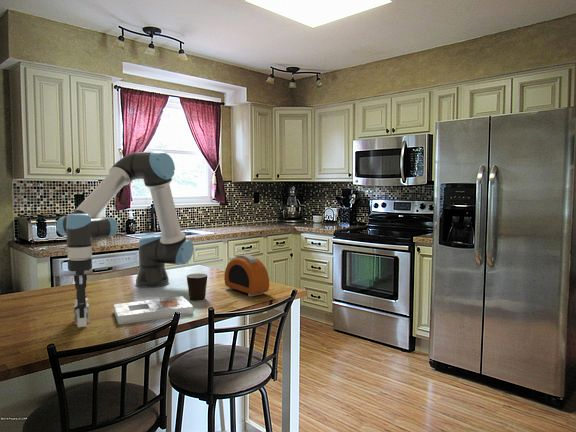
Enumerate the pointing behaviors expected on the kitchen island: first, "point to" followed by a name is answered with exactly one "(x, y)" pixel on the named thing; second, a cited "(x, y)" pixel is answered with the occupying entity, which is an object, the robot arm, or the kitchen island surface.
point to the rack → (151, 309)
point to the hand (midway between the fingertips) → (81, 322)
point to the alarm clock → (247, 275)
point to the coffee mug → (197, 286)
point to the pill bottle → (86, 312)
